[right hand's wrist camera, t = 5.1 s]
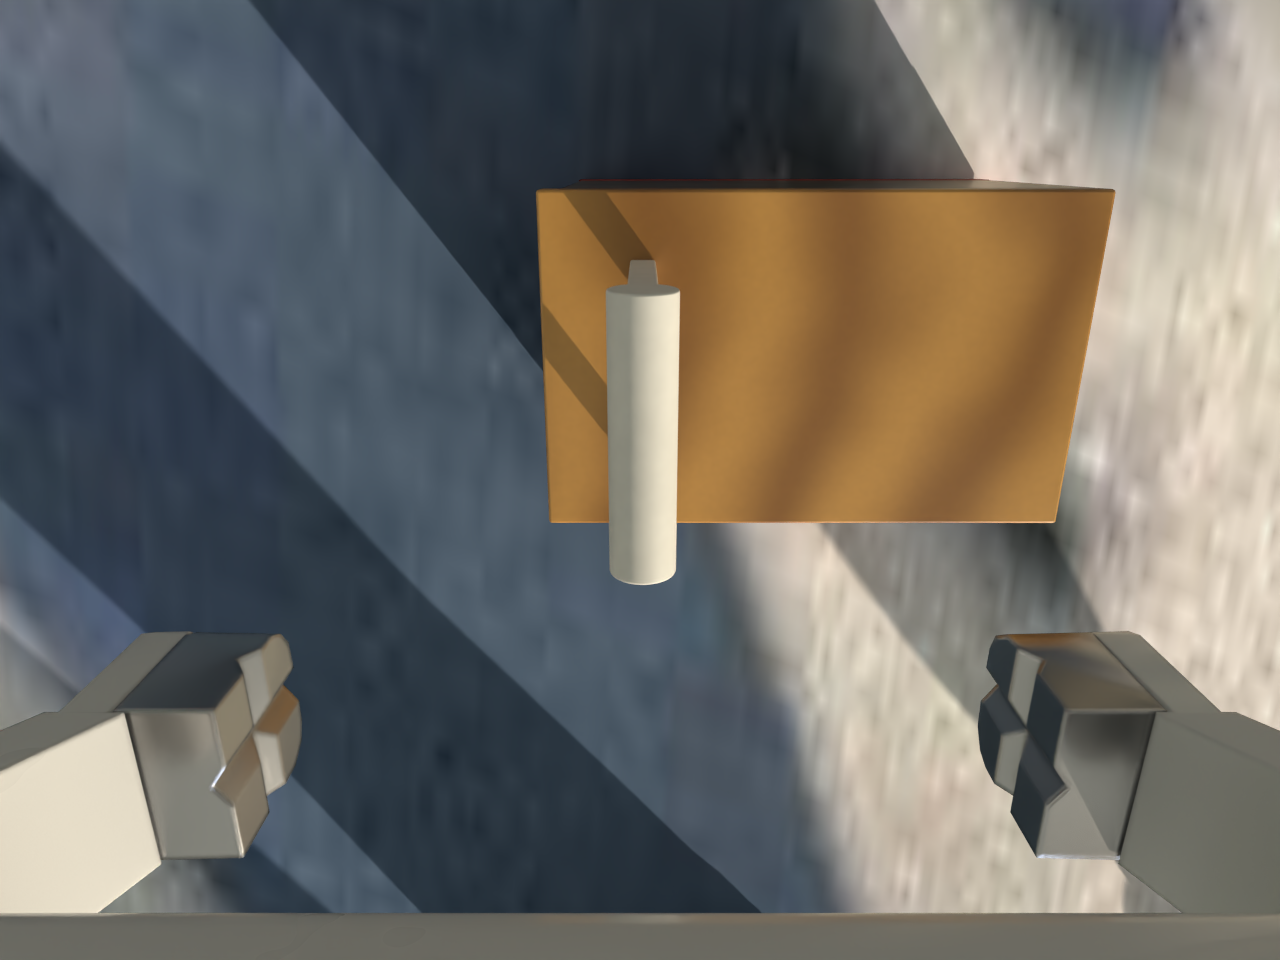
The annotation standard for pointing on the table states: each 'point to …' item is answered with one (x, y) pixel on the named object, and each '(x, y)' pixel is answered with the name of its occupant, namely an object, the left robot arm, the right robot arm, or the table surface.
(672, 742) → the table surface
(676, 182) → the chest
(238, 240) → the table surface
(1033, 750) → the right robot arm
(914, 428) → the lid
